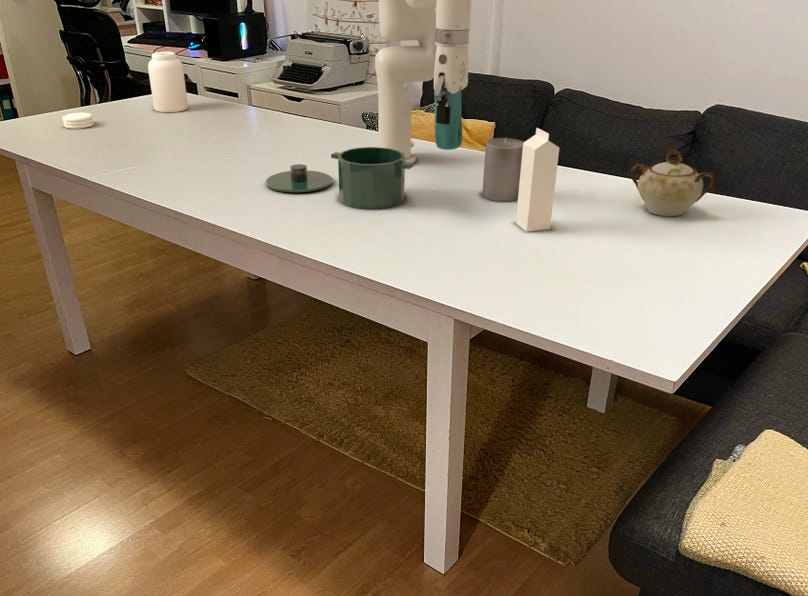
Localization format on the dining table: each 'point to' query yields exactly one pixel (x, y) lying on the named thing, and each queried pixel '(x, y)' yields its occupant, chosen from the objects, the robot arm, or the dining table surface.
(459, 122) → the beverage bottle
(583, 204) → the dining table surface
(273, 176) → the lid
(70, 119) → the white flat round stack
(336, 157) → the pot
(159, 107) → the white jar
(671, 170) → the sugar bowl
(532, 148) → the milk
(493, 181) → the pillar candle
